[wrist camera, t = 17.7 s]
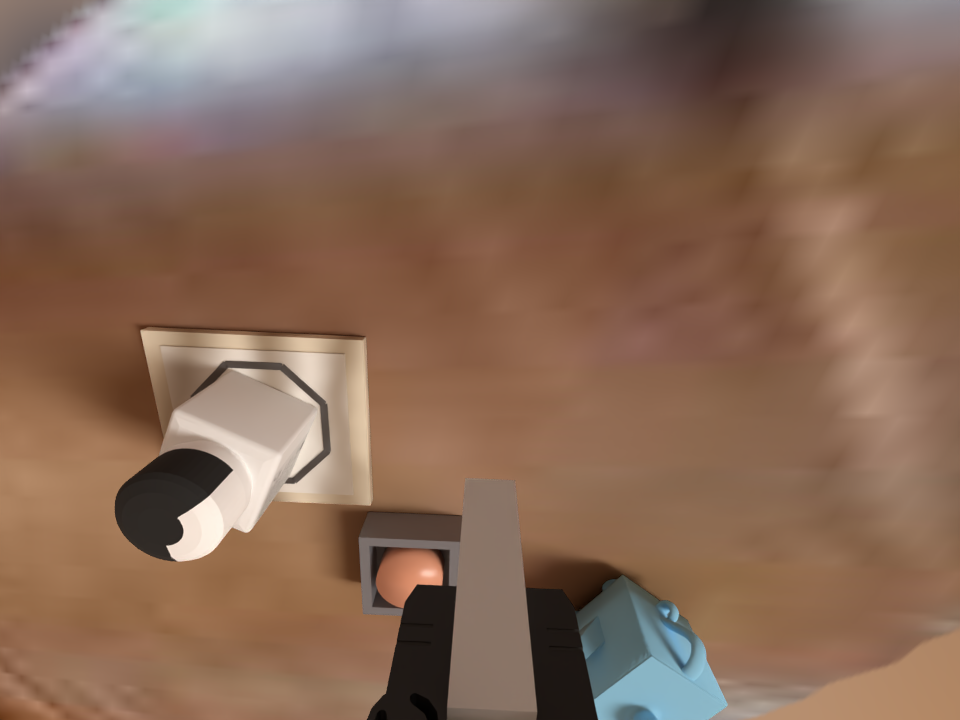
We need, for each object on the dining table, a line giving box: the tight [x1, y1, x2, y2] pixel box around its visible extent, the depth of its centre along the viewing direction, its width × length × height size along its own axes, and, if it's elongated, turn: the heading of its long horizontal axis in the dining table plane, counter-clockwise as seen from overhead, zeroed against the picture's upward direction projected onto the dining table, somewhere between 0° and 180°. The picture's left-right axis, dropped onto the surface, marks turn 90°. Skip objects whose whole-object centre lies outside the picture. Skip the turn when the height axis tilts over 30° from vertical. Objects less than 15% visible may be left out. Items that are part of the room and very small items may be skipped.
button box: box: [359, 512, 462, 616], centre depth 43 cm, size 9×9×4 cm
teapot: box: [575, 575, 727, 720], centre depth 42 cm, size 16×18×11 cm
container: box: [115, 371, 317, 561], centre depth 33 cm, size 8×8×13 cm
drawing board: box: [140, 327, 373, 505], centre depth 40 cm, size 18×16×1 cm
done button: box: [376, 547, 444, 608], centre depth 42 cm, size 6×6×2 cm
